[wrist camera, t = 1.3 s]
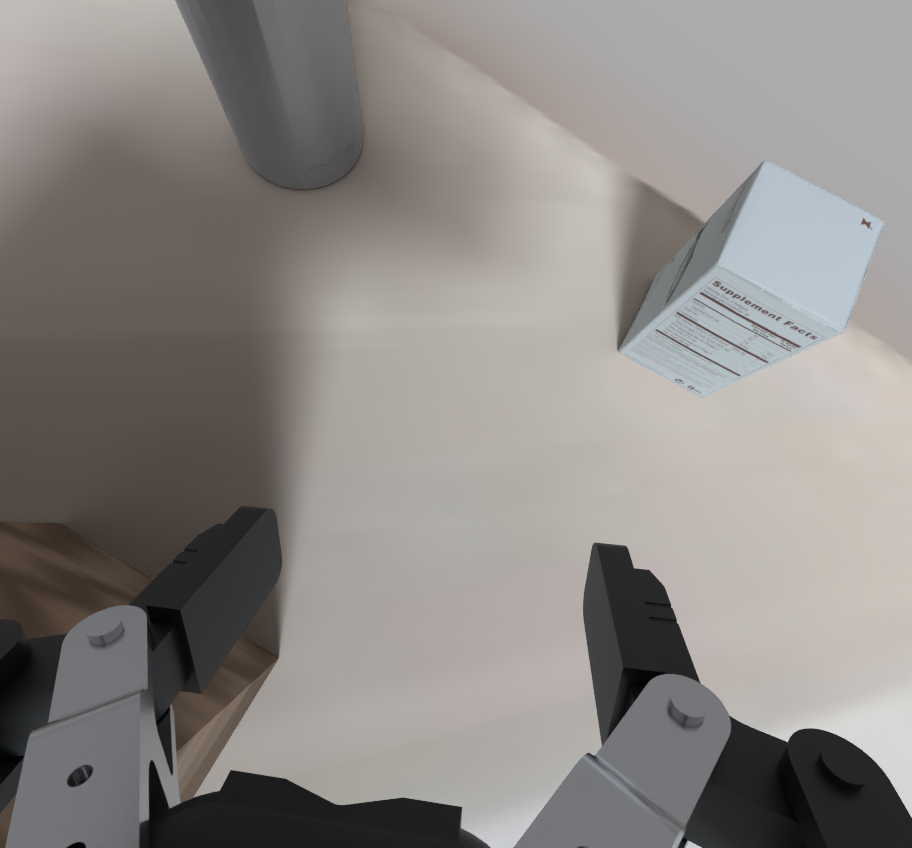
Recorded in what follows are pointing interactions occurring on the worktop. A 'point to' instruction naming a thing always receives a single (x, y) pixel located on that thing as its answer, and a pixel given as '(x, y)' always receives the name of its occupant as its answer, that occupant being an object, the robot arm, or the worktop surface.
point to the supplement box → (755, 283)
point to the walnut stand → (104, 586)
